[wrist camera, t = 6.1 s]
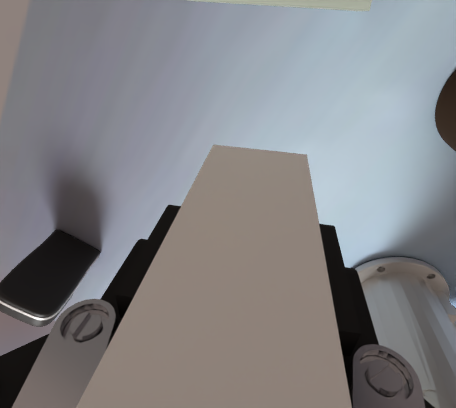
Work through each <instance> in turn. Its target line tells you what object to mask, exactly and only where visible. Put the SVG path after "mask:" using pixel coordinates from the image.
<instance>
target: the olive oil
mask: <svg viewBox="0 0 456 408" xmlns="http://www.w3.org/2000/svg"><path fill="white" fill-rule="evenodd" d="M435 122H436V127H437V130H438V132H439V134H440V136H441V137H442V139H443V140H444V141H445V142H446V143H447V144H448V145H449V146H450V147H451V148H453V149H454V150H455V151H456V71H455V72H454V73H453V74H452V76H451V77H450V78H449V79H448V81H447V82H446V84H445V86H444V87H443V89H442V91H441V93H440V95H439V98H438V101H437V105H436V110H435Z"/></svg>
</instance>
